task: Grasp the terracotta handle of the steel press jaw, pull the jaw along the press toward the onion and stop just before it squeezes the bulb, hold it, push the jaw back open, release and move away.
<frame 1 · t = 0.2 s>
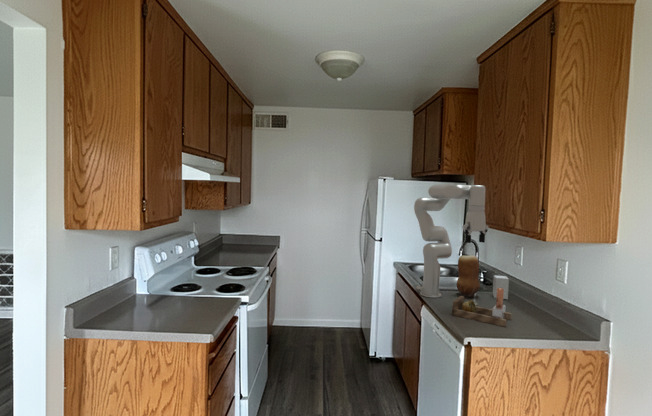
hand: (474, 242, 194), 37 cm above the counter, tool pointing down, fingers open, 9 cm apart
butternut squash: (467, 296, 229), on the counter
press frame: (481, 317, 190), on the counter
supplement box: (499, 297, 229), on the counter
onion: (468, 314, 193), resting in press frame
press jaw: (499, 303, 185), point 9 cm above the counter, slide at 0.0 cm
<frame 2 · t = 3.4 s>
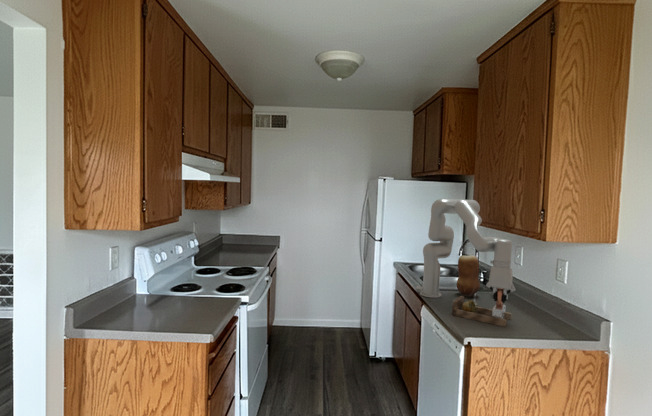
hand: (499, 301, 185), 10 cm above the counter, tool pointing down, fingers closed on press jaw, 3 cm apart
press jaw: (499, 303, 185), point 9 cm above the counter, slide at 0.0 cm, touching gripper
everything else where it was.
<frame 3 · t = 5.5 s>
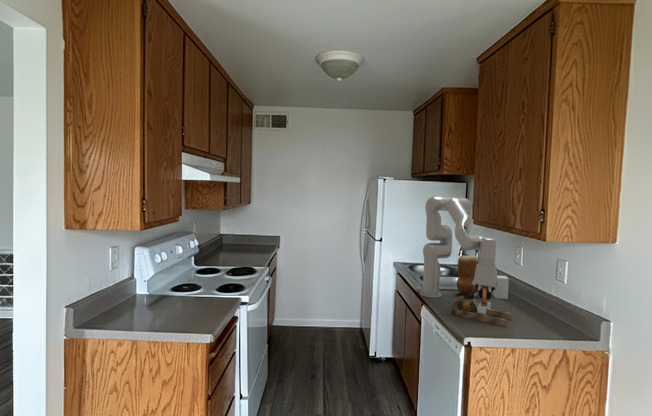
hand: (484, 298, 189), 10 cm above the counter, tool pointing down, fingers closed on press jaw, 3 cm apart
press jaw: (484, 300, 189), point 9 cm above the counter, slide at 7.0 cm, touching gripper
everything else where it was.
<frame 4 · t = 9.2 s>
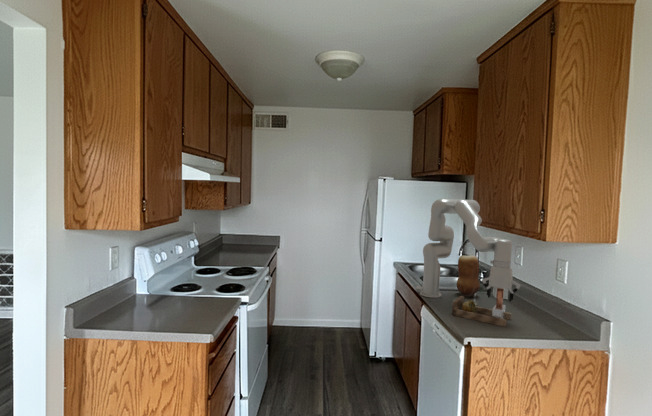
hand: (499, 299, 185), 11 cm above the counter, tool pointing down, fingers open, 9 cm apart
press jaw: (499, 303, 185), point 9 cm above the counter, slide at 0.0 cm
everything else where it was.
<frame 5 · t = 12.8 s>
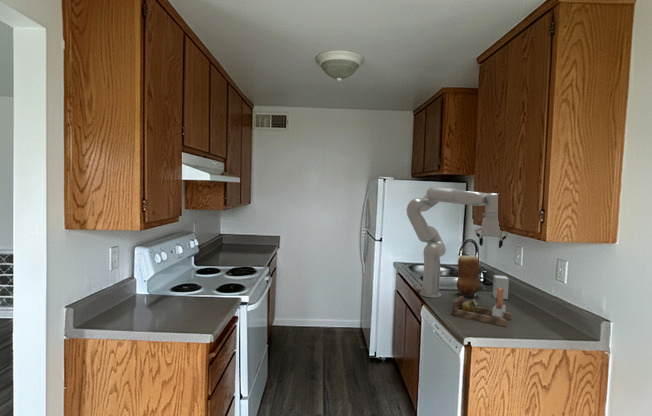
hand: (490, 246, 208), 33 cm above the counter, tool pointing down, fingers open, 9 cm apart
nothing on the counter moved.
at the end: press jaw slide at 0.0 cm; onion moved 0.3 cm from its start; the gripper is holding nothing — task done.
